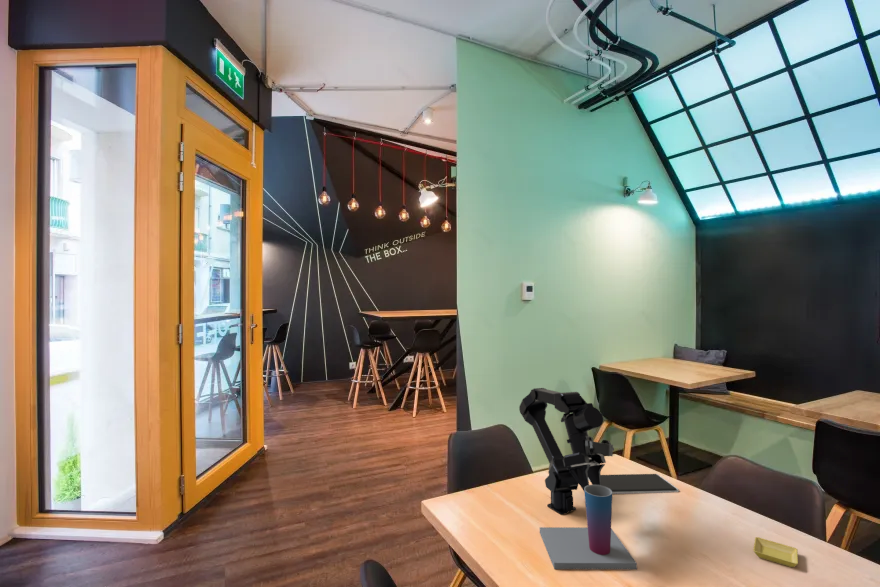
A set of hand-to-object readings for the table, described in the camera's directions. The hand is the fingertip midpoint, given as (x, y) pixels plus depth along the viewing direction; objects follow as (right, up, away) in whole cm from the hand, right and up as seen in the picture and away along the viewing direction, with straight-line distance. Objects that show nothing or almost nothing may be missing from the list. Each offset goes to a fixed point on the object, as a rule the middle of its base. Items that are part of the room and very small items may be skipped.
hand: (593, 492), depth 115 cm
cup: (-2, -11, -9) cm, 14 cm away
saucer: (+43, -12, -9) cm, 46 cm away
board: (-5, -12, -6) cm, 14 cm away
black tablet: (+25, -13, +32) cm, 43 cm away
